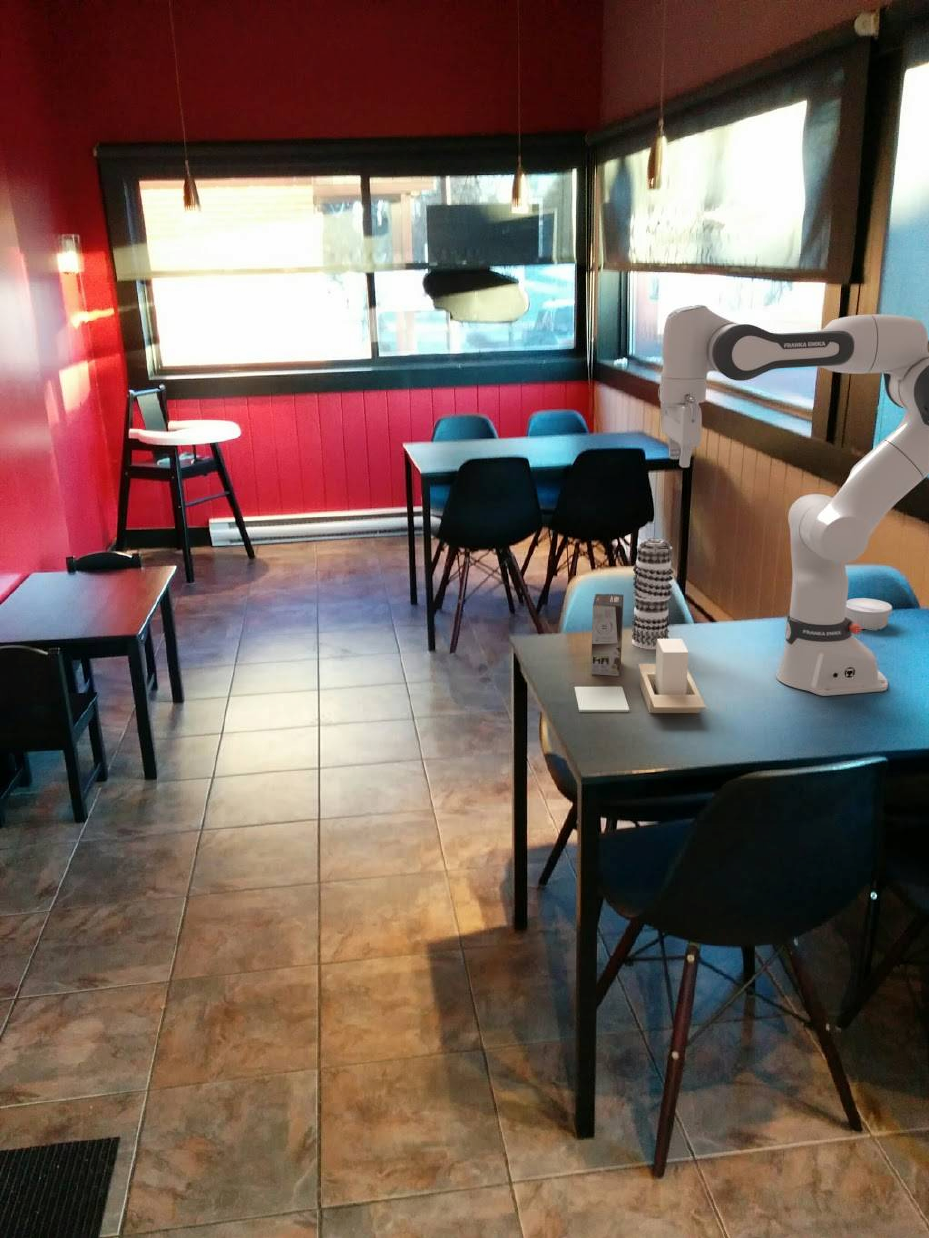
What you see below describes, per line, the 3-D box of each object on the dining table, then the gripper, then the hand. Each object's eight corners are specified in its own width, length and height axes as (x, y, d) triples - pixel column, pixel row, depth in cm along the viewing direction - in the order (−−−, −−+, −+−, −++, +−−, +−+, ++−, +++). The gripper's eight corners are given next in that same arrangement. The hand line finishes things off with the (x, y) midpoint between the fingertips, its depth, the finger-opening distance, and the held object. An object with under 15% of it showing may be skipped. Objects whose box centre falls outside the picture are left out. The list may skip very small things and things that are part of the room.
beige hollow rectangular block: (683, 678, 216) (684, 663, 215) (705, 723, 194) (706, 706, 193) (637, 678, 216) (637, 663, 215) (653, 723, 194) (654, 706, 193)
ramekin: (846, 631, 244) (848, 610, 242) (837, 616, 254) (840, 597, 253) (894, 633, 242) (897, 612, 240) (884, 618, 253) (886, 598, 251)
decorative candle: (623, 645, 236) (627, 542, 228) (640, 634, 243) (644, 534, 235) (659, 652, 231) (664, 548, 223) (675, 641, 239) (681, 539, 231)
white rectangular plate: (621, 688, 211) (621, 686, 211) (629, 711, 200) (629, 709, 200) (574, 688, 211) (574, 686, 211) (579, 712, 200) (579, 709, 200)
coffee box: (619, 676, 218) (622, 606, 213) (590, 674, 219) (592, 604, 214) (621, 661, 226) (624, 593, 221) (593, 660, 227) (595, 592, 222)
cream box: (678, 692, 209) (681, 638, 205) (685, 708, 201) (688, 652, 198) (654, 692, 209) (656, 638, 205) (660, 708, 202) (663, 652, 198)
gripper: (712, 398, 186) (707, 471, 190) (687, 387, 205) (683, 454, 210) (678, 398, 186) (674, 472, 190) (656, 387, 205) (653, 454, 210)
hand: (678, 462), depth 200 cm, fingers open, 8 cm apart
